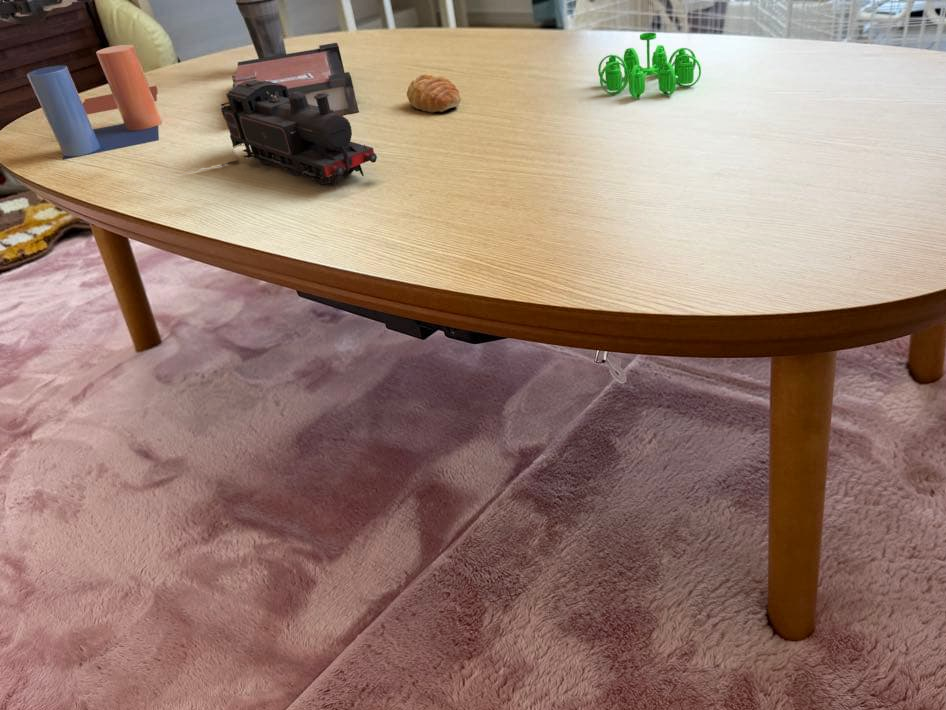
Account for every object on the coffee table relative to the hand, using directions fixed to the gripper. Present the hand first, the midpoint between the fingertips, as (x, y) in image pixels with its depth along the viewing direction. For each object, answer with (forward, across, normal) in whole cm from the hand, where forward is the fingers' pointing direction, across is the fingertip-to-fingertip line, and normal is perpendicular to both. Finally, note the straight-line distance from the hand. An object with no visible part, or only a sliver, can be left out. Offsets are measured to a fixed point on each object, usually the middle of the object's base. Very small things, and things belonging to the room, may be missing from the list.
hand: (60, 0), depth 119 cm
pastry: (+49, +25, +18) cm, 58 cm away
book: (+24, +19, +18) cm, 35 cm away
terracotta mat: (-9, +7, +18) cm, 21 cm away
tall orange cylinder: (+11, 0, +17) cm, 20 cm away
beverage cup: (+1, +32, +18) cm, 37 cm away
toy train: (+51, -1, +18) cm, 54 cm away
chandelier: (+74, +43, +18) cm, 88 cm away
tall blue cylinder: (+14, -11, +17) cm, 25 cm away
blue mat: (+12, -6, +18) cm, 22 cm away
